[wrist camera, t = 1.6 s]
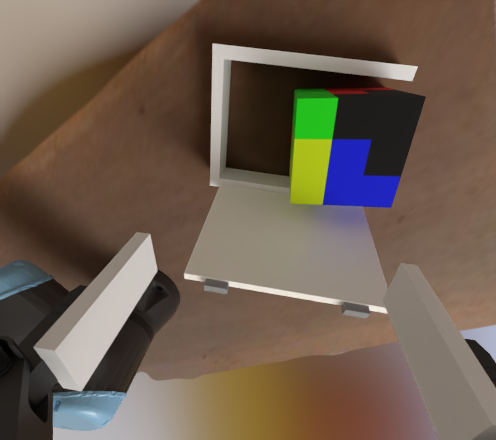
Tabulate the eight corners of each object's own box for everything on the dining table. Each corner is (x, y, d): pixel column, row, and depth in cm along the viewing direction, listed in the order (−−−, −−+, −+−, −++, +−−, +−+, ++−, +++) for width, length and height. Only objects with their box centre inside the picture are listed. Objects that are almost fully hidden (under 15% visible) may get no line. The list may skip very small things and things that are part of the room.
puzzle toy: (364, 171, 33) (391, 207, 25) (289, 170, 35) (290, 203, 26) (384, 87, 28) (425, 96, 20) (294, 88, 29) (297, 98, 21)
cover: (220, 184, 32) (220, 190, 33) (181, 280, 21) (182, 286, 22) (362, 205, 31) (359, 211, 32) (396, 317, 20) (390, 322, 21)
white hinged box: (217, 174, 36) (210, 185, 33) (221, 45, 28) (212, 43, 25) (354, 194, 35) (361, 207, 32) (401, 66, 27) (417, 66, 23)
